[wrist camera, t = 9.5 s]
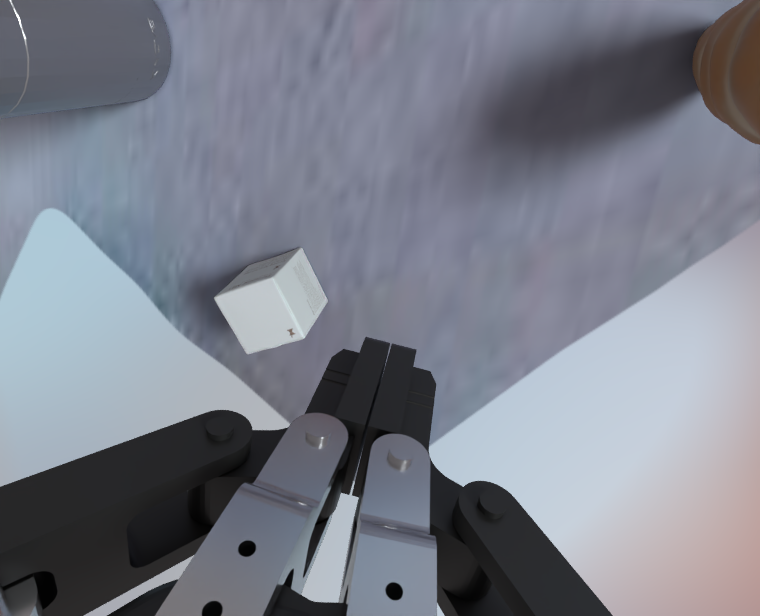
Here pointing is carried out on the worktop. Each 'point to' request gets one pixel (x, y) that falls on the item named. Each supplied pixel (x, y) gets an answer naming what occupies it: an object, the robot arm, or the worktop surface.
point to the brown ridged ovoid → (732, 69)
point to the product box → (273, 301)
